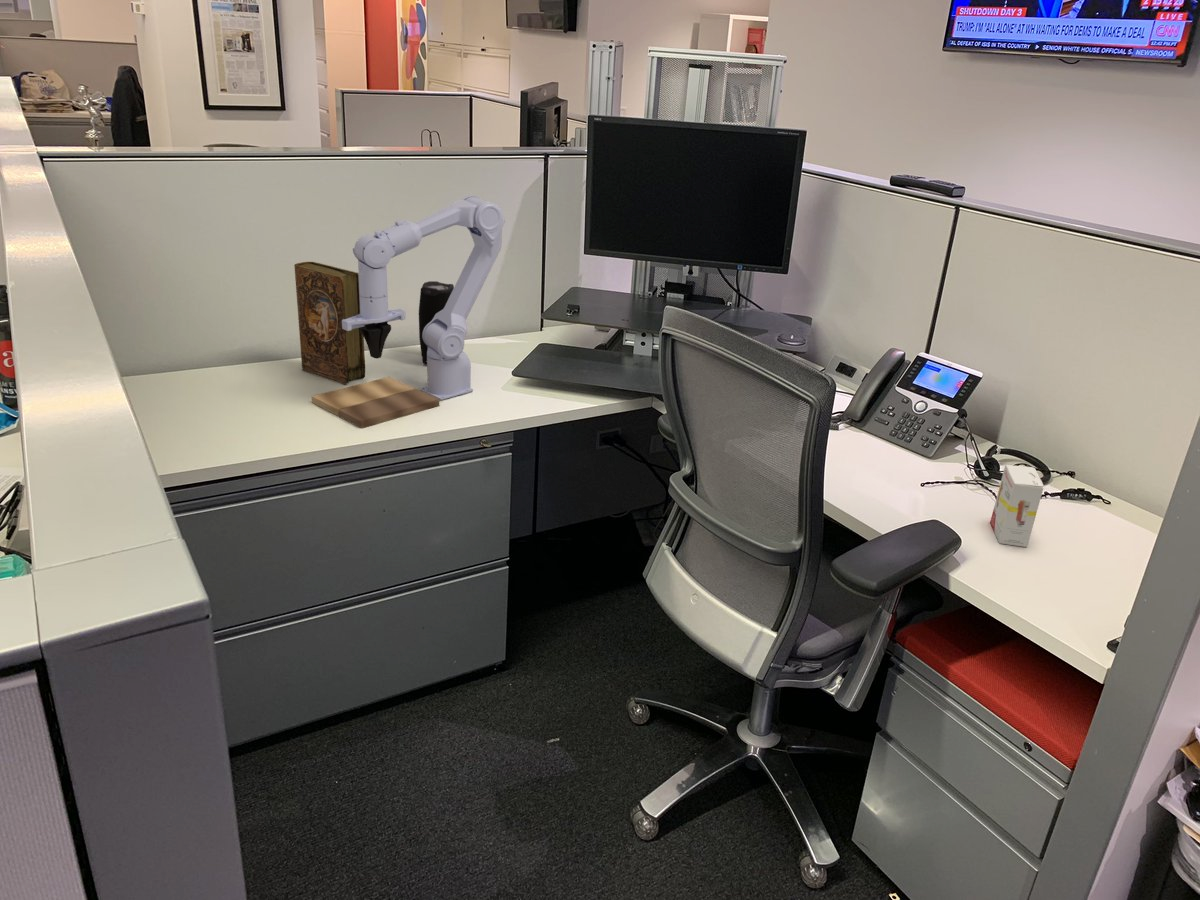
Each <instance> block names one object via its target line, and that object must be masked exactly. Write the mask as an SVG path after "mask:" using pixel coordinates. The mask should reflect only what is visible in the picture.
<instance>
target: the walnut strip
mask: <svg viewBox="0 0 1200 900" xmlns="http://www.w3.org/2000/svg"><path fill="white" fill-rule="evenodd" d="M436 407H440V400H439V399H438V398H436V397H434V396H431V395H429V394H427V393H425V392H422V391H420V390H419V389H417V388H416V389H415V390H411V391H407V392H403V393H400V394H396V395H392V396H389V397H385V398H381V399H377V400H374V401H370V402H366V403H362V404H359V405H355V406H351V407H347V408H344V409H340V410H339V416H338V417H339V418H341V419H343V420H344V421H347V422H349V423H350V424H352V425H354V426H356V427H358V428H360V429H364V428H367V427H368V428H369V427H371V426H375V425H379V424H381V423H385V422H389V421H391V420H395V419H400V418H403V417H406V416H410V415H413V414H415V413H420V412H423V411H426V410H430V409H434V408H436Z"/></svg>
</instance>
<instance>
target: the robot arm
mask: <svg viewBox="0 0 1200 900" xmlns="http://www.w3.org/2000/svg"><path fill="white" fill-rule="evenodd" d="M505 223H506V220H505V218H504V215H503V212H502V209H501V207H500V206H499V205H498V204H496V203H495V202H492V201H487V200H485V199H482V198H480V197H478V196H476V195H468V196H465V197H463V199H462V198H460V199H456V200H454V202H452V203H451V204H449V205H447V206H445V207H443V208H441V209H439V210H437V211H435V212H433V213H431V214H429V215H427V216H425V217H424V218H421V219H419V220H418V221H415V222H412V221H410V220H407V219H406V220H402V219H397V220H396V221H394V225H391V226H390V227H387V228H385V229H383V230H380V229H377V230H375V231H374V235H372V234H365V235H361V236H360V237H359V238H358V239H357V241H355V243H354V246H353V248H352V253H353V255H354V257H355V259H356V260H358V261H357V265H358V266H357V268H358V270H357V271H358V272H357V273H358V276H359V298H360V314H358V315H356V316H353V317H350V318H348V319H344V320H342V329H344V330H347V331H350V330H352V329H355V328H359V330H360V331H361V333H362V335H363V336H364V341H365V343H366V345H367V348H368V352H369V354H370V357H371V358H373V359H380V358H381V359H382V355H383V351H384V347H385V343H386V341H387V338H388V336H389V334H390V333H391V331H392V325H391V324H389V322H393V321H394V322H395V321H399V320H400V321H405V320H406V310H404V309H401V308H398V309H389V298H388V297H389V296H388V274H387V272H388V271H387V265H388V264H389V263H390V260H391V259H393V258H395V257H398V256H400V255H402V254H403V253H406V252H408V251H410V250H413V249H415V248H417V247H419V245H420V243H421V241H422V239H423V238H425V237H427V236H431V235H433V234H435V233H438V232H440V231H443V230H446V229H448V228H451V227H454V226H460V227H463V228H464V227H465V228H467V230H468V231H469V233H470V236H471V239H472V241H473V244H474V246H473V248H472V250H471V252H470V255H469V256H468V258H467V260H466V263H465V264H464V266H463V268H462V271H461V272H460V275H459V277H458V279H457V281H456V282H455V284H454V289H453V291H452V293H451V295H450V297H449V299H448V301H447V303H446V305H445V307H444V309H443V310H441V311H439V312H438V313H436V314H435V316H434V318H433V319H432V321H431V322H430V323H428V324H427V325H426V326H425V328H424V330H423V333H422V338H423V341H424V343H425V344H426V345H427V346H428V350H427V362H426V370H427V372H426V373H427V375H426V376H427V379H426V380H427V382H426V383H427V386H424V387H420V388H419V389H418V390H420V391H422V392H425V393H427V394H429V395H431V396H434V397H436V398H438V399H439V401H441V400H442V401H444V400H447V399H450V398H451V399H452V398H454V397H457V396H460V395H463V394H469V393H471V392H473V391H474V389H473V388H471V384H472V383H471V381H472V379H471V374H472V373H471V372H472V371H471V360H470V358H469V356H468V354H467V353H466V352H465V351H464V348H465V339H466V336H467V334H468V325H467V319H468V316H469V314H470V313H471V311H472V309H473V307H474V305H475V302H476V301H477V298H478V297H479V294H480V292H481V290H482V288H483V286H484V285H485V282H486V280H487V277H488V276H489V274H490V272H491V270H492V268H493V266H494V263H495V261H496V260H497V258H498V255H499V254H500V252H501V249H502V239H503V227H504V225H505Z"/></svg>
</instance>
